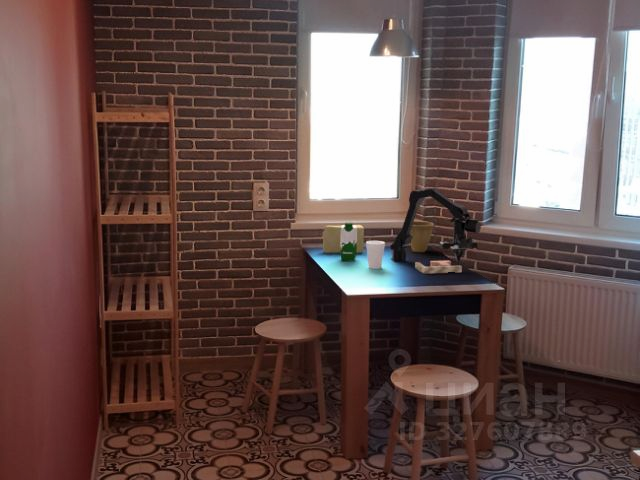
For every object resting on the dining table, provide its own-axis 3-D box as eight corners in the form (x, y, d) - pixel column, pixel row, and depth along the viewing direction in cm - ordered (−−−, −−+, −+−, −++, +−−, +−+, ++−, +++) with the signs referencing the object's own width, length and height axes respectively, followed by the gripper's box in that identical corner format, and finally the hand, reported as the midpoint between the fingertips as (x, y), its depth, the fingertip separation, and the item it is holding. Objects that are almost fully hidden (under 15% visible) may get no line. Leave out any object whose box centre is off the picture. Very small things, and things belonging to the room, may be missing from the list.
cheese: (324, 254, 427) (324, 227, 424) (321, 250, 436) (322, 224, 434) (363, 253, 430) (364, 226, 428) (360, 250, 440) (360, 223, 437)
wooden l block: (423, 273, 382) (423, 267, 381) (414, 267, 394) (415, 262, 394) (461, 272, 386) (461, 266, 385) (452, 266, 398) (452, 261, 398)
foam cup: (386, 266, 397) (387, 241, 394) (380, 270, 388) (381, 244, 386) (369, 264, 401) (370, 240, 398) (362, 268, 392) (363, 243, 390)
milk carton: (339, 261, 409) (340, 223, 405) (340, 257, 418) (341, 221, 414) (356, 261, 408) (356, 224, 404) (357, 258, 417) (357, 221, 413)
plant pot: (400, 249, 442) (401, 222, 439) (423, 247, 448) (424, 220, 445) (414, 254, 428) (415, 226, 425) (437, 252, 434) (438, 224, 432)
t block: (436, 272, 386) (437, 265, 385) (430, 267, 396) (430, 261, 395) (455, 271, 388) (456, 264, 387) (448, 267, 398) (448, 260, 397)
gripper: (447, 234, 379) (445, 265, 382) (483, 233, 383) (481, 264, 385) (439, 230, 390) (438, 260, 393) (474, 229, 393) (473, 259, 396)
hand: (457, 261), depth 391 cm, fingers closed
